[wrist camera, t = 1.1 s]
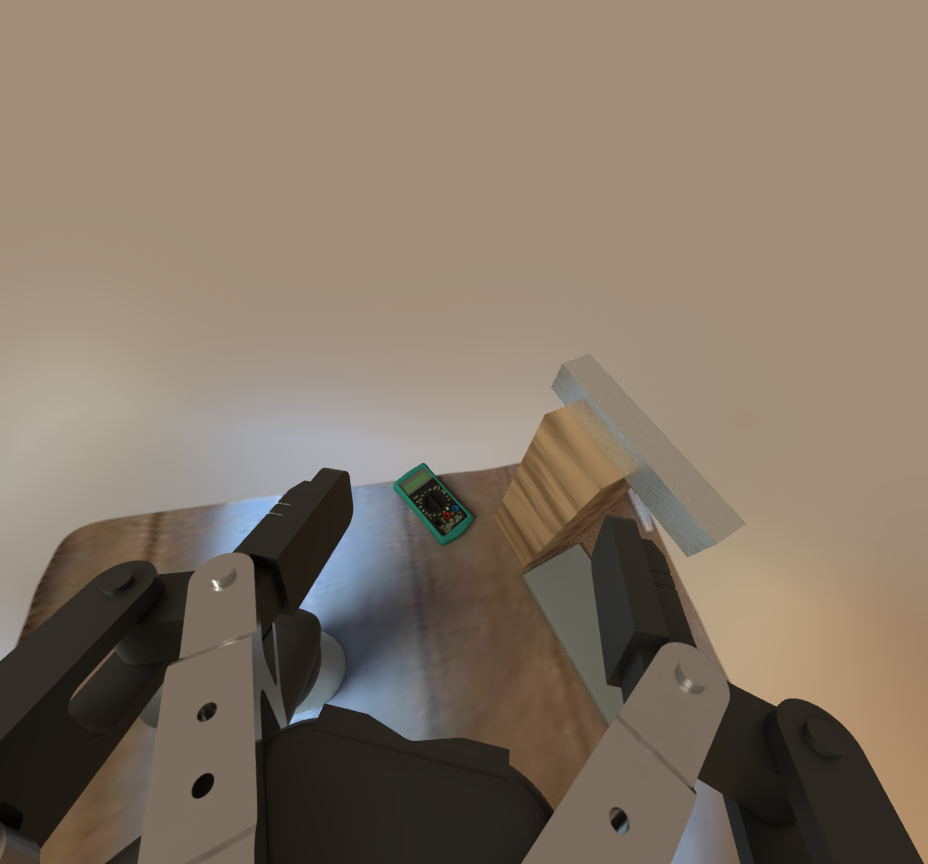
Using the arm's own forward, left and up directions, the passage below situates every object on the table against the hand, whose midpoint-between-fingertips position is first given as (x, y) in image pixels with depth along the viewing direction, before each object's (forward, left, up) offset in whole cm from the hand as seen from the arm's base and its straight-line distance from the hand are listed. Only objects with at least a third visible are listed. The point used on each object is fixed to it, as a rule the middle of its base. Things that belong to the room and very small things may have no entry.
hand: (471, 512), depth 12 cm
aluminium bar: (+25, +5, -22) cm, 33 cm away
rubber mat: (+25, -11, -54) cm, 60 cm away
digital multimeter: (+11, +20, -54) cm, 59 cm away
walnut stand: (+25, +8, -54) cm, 60 cm away
